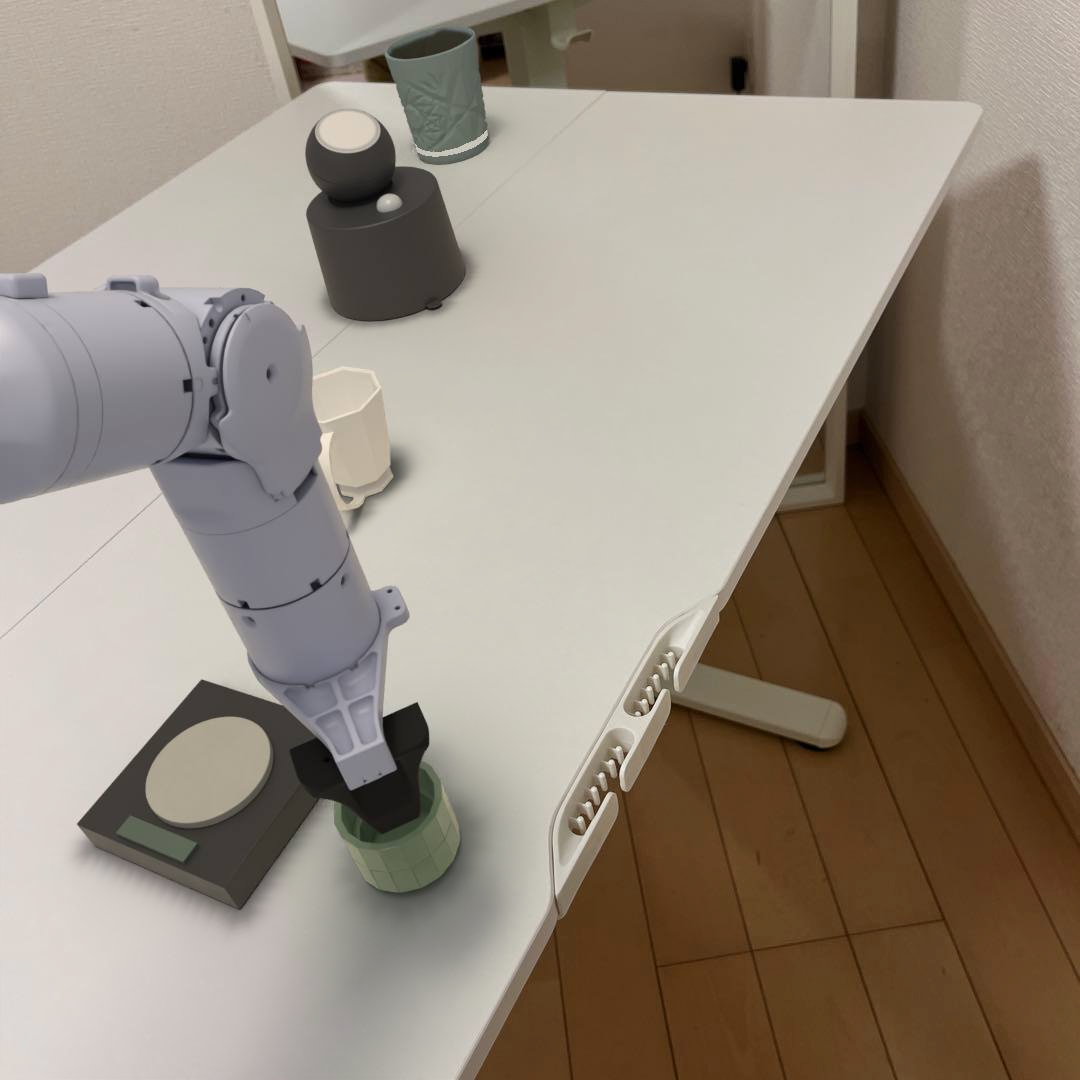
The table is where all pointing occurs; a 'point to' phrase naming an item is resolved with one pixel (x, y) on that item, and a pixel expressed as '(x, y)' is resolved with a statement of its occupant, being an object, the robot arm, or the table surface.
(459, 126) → the green embossed plant pot
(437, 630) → the table surface
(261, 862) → the scale
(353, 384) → the cup
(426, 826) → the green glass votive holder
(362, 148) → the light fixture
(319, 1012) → the table surface
